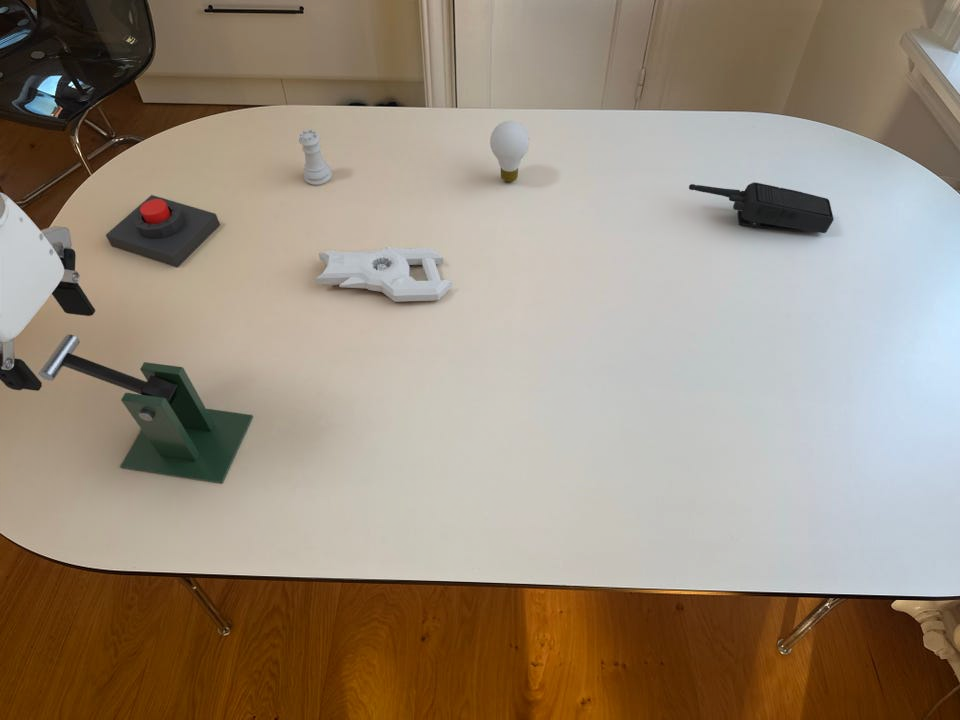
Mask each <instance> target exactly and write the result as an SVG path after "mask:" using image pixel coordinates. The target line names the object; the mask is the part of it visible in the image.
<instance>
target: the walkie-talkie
mask: <svg viewBox="0 0 960 720" xmlns="http://www.w3.org/2000/svg"><path fill="white" fill-rule="evenodd" d="M688 189H689V190H690V191H696V192H701V193H706V194H712V195H716V196H722V197H725V198H728V201H730V202H732V203H733V202H734V203H733V206H732V209H733V210H734V211H737V223H738V225H740V226H743V227H744V226H745V227H750V228H755V229H756V228H757V229H765V230H766V229H767V230H778V231H788V232H790V231H791V232H799V233H802V232H804V231H806V232H813V233H819V234H826V233H827V232H828V231H829V229H830V227H831V225H832V224H833V222H834V220H835V219H834V215H833V210H832V207H831V201H830V199H828V198H827V197H823V196H819V195H816V194H815V195H814V194H810V193H806V192H802V191H800V190H794V189H789V188H785V187H779V186H775V185H770V184H766V183H760V182H751V183H749V184H747V186H746V187H745V189H744V190H740V189H735V188H733V189H732V188H723V187H715V186H707V185H702V184H701V185H700V184H694V183H690V184H689V186H688Z"/></svg>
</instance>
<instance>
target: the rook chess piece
mask: <svg viewBox="0 0 960 720" xmlns="http://www.w3.org/2000/svg"><path fill="white" fill-rule="evenodd" d="M320 140H321V136H320V135H319V134H318V133H317V131H316V130H313V128H309V129H308V131H307V130H306V129H304V130H302V132H299V138H298V143H299V144H300V145H301V146H302V148H301V149H302V152H303V153H304V159H305V163H304V167H303V170H302V173H303V179H304V181H305V182H306V183H308V184H309V185H312V186H321V185H324V184H327V183H328V182H329V181H330V180H331V178H332V176H333V173H332V170H331V166H330V165H329V164H328V163H327V161H326V160H325V159H324V158H323V155H322V152H321V145H320V143H319V142H320Z"/></svg>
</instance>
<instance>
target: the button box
mask: <svg viewBox="0 0 960 720" xmlns="http://www.w3.org/2000/svg"><path fill="white" fill-rule="evenodd" d="M153 199H161V200H163V201H165V202H166V204H167V206H168V209H169V211H170V217H169V218H168V219H167V220H165V221H163V222H160V223H157V224H148V223H147V222H146V221H145V220H144V218H143V216H142V214H141V212H140V208H141V206H142V205H143V204H144V203H145V202H147V201H149V200H153ZM220 226H221V223H220V220H219V218H218V215H217V213H215V212H211V211H208V210H205V209H201V208H198V207H195V206H191V205H188V204H184V203H180V202H177V201H174V200H172V199H171V200H170V199H167V198H163V197H160V196H156V195H153V194H150V196H149V197H147V198H146V199H145V200H143V202H142V203H140V204H139V205H138V206H137V207H136V208H135V209H134V210H132V211H131V212H130V213H128V214H127V216H125V217H124V218H123V219H122V220H121V221H119V223H117V224H116V225H115V226H114V227H113V228H112V229H110V231H108V232H107V233H106V234H105V237H106V239H107V240H108V242H109V244H110V246H111V247H112V248H115V249H119V250H121V251H125V252H128V253H131V254H133V255H137V256H140V257H142V258H147V259H150V260H153V261H154V262H155V261H156V262H159V263H162V264H164V265H168V266H170V267H174V268H179V267H180V266H181V265H182V264H183V263H184V262H185V261H186V260H187V259H188V258H190V256H191V255H192V254H193V253H194V252H195V251H196V250H197V249H198V248H199V247H200V246H201V245H202V244H203V243H204V242H205V241H206V240H208V238H209V237H210V236H211V235H212V234H213V233H214V232H215V231H216V230H217V229H218V228H219V227H220Z"/></svg>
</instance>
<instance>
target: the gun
mask: <svg viewBox="0 0 960 720" xmlns="http://www.w3.org/2000/svg"><path fill="white" fill-rule="evenodd" d="M318 259H319V260H320V261H321V262H322V263H324V264H325V265H326V268H325V269H324V271H323V272H322V273H321V274H320V275H318V276H316V277H315V282H316V285H319V286H320V285H321V286H339V288H348V289H349V288H350V289H366V290H369V291H373V292H374V291H375V292H379V293H380V292H381V293H383V294H384V295H385V296H386V297H388V298H389V299H390V300H391V301H393V302H398V303H399V302H430V301H431V302H432V301H439V300H440V299H441V298H442V297H444V295H445V294H446V293H447V292H448V291H449V290H451V288H453V280H449V279H448V280H447V279H441V276H440V273H439V270H438V267H437V265H443V264H444V258H443V256H442V255H440V254H439V252H438V251H437V250H435V248H433V247H418V248H417V247H416V248H414V247H413V248H398V247H392V246H385V248H380V249H376V250H372V251H371V250H370V251H336V250H326V251H325V252H318ZM421 265H422V269H423V272H424V274H425V277H426V279H427V280H416V279H415V278H414V277H412V276H411V275H410V272H411V271H410V268H411V267H410V266H421Z"/></svg>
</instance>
